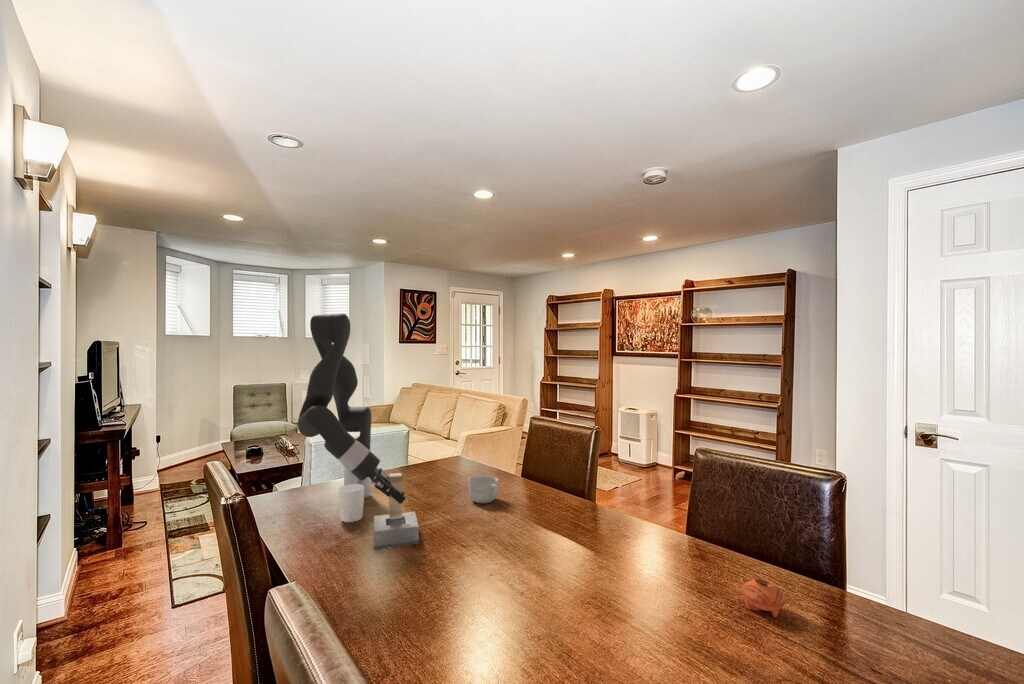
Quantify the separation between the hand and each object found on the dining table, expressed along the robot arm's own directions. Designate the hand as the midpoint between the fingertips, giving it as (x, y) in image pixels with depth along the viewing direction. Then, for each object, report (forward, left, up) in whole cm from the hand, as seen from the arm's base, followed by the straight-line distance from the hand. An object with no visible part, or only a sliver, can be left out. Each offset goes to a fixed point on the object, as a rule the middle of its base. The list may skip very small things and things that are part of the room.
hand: (402, 498), depth 132 cm
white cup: (-20, -15, -11) cm, 28 cm away
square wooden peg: (0, -2, -5) cm, 5 cm away
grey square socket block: (0, -2, -11) cm, 12 cm away
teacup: (-22, +30, -12) cm, 39 cm away
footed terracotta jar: (+60, +70, -12) cm, 93 cm away
